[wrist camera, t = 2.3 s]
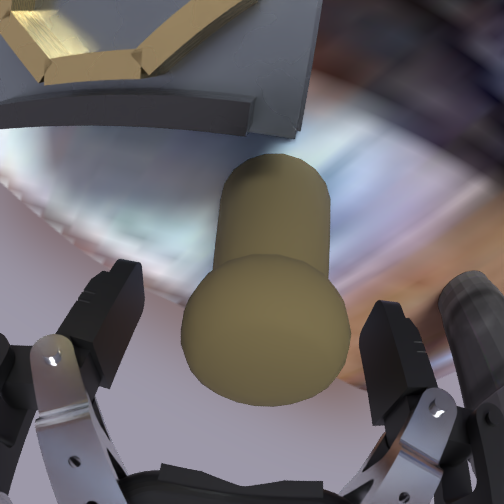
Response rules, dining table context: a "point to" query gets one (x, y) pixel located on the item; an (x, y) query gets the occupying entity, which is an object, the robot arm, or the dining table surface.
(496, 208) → the dining table surface
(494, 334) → the beverage cup
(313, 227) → the cork
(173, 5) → the grey peg socket base
